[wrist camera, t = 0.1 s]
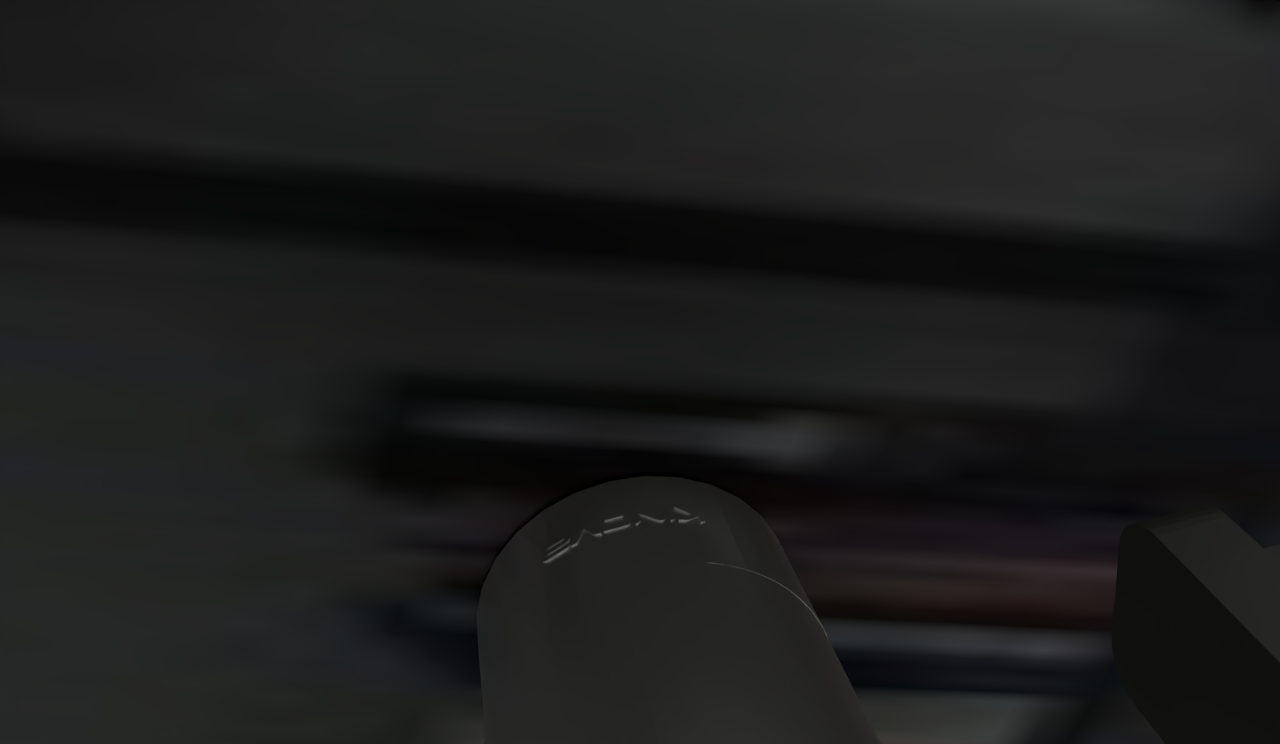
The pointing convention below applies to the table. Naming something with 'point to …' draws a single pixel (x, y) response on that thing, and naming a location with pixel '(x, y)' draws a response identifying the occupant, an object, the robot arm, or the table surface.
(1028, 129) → the table surface
